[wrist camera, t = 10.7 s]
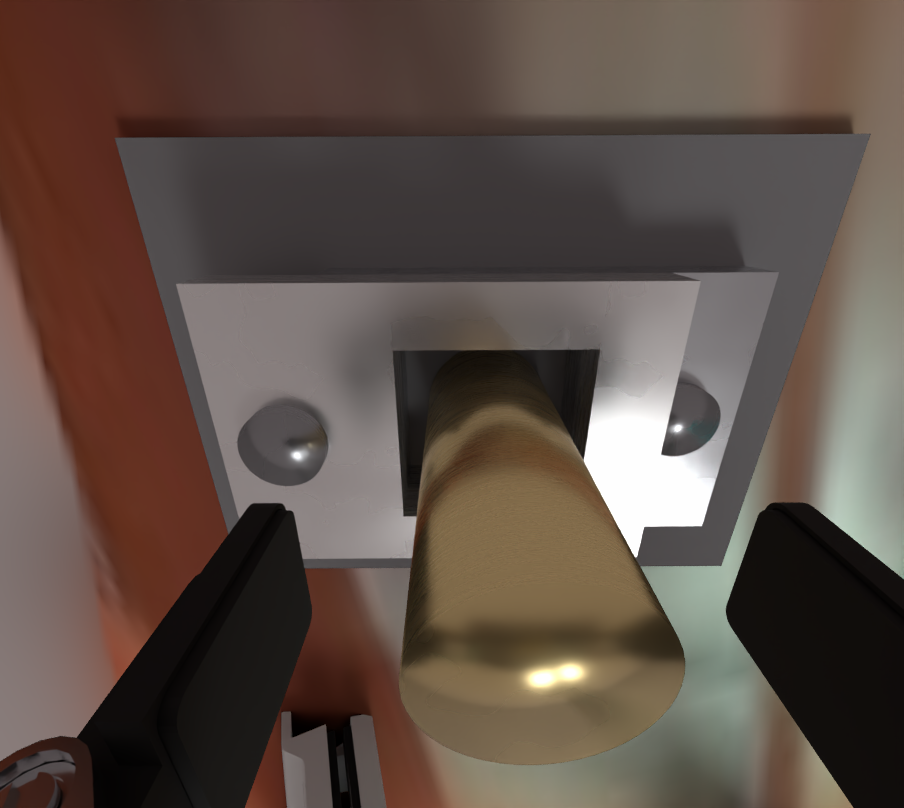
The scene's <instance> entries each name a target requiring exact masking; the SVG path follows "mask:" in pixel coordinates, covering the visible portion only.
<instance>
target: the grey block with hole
mask: <svg viewBox="0 0 904 808" xmlns="http://www.w3.org/2000/svg"><path fill="white" fill-rule="evenodd" d="M778 274H779V272H775V271H770V270H765V269H759V268H754V267H749V266H634V267H456V268H328V269H326V270H324V271H322V272H320V273H318V274H316V275H207V276H204V277H200V278H196V279H192V280H189V281H185V282H181V283H177V284H176V286H177V290H178V293H179V297H180V301H181V304H182V308H183V312H184V316H185V319H186V323H187V327H188V331H189V334H190V338H191V342H192V345H193V349H194V353H195V357H196V360H197V364H198V368H199V371H200V375H201V379H202V383H203V386H204V390H205V394H206V397H207V401H208V405H209V409H210V412H211V416H212V420H213V423H214V427H215V431H216V435H217V438H218V442H219V446H220V449H221V453H222V457H223V461H224V464H225V468H226V472H227V476H228V479H229V483H230V487H231V490H232V494H233V498H234V502H235V505H236V509H237V513H238V516H239V519H240V518H241V516H242V515H243V513H244V512H245V511H246V509H247V508H248V507H249V506H250V505H251V504H253V503H282V504H283V505H284V506H285V508H286V510H291V511H293V513H294V516H295V521H296V526H297V532H298V537H299V542H300V547H301V553H302V558H303V559H357V558H412V554H413V545H414V535H415V526H416V517H417V508H418V499H419V490H420V480H421V471H422V465H411V447H410V428H409V409H408V390H407V372H406V353H405V351H419V350H568V352H567V361H566V370H565V379H564V388H563V397H562V405H561V414H560V418H561V419H562V421H563V423H564V425H565V427H566V429H567V431H568V433H569V434H570V436H571V438H572V440H573V442H574V444H575V446H576V448H577V449H578V451H579V453H580V455H581V457H582V459H583V461H584V462H585V464H586V466H587V468H588V470H589V472H590V474H591V476H592V477H593V479H594V481H595V483H596V485H597V487H598V489H599V490H600V492H601V494H602V496H603V498H604V500H605V502H606V504H607V505H608V507H609V509H610V511H611V513H612V515H613V517H614V519H615V520H616V522H617V524H618V526H619V528H620V530H621V532H622V533H623V535H624V537H625V539H626V541H627V543H628V545H629V547H630V548H631V550H632V552H633V554H634V556H635V557H637V554H638V549H639V545H640V541H641V536H642V532H643V528H644V526H702V524H703V520H704V517H705V514H706V511H707V507H708V504H709V501H710V497H711V494H712V491H713V488H714V484H715V481H716V478H717V474H718V471H719V468H720V465H721V461H722V458H723V455H724V451H725V448H726V445H727V442H728V438H729V435H730V432H731V428H732V425H733V422H734V419H735V415H736V412H737V409H738V406H739V402H740V399H741V396H742V392H743V389H744V386H745V383H746V379H747V376H748V373H749V369H750V366H751V363H752V360H753V356H754V353H755V350H756V346H757V343H758V340H759V337H760V333H761V330H762V327H763V323H764V320H765V317H766V314H767V310H768V307H769V304H770V301H771V297H772V294H773V291H774V287H775V284H776V281H777V278H778Z"/></svg>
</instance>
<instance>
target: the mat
mask: <svg viewBox="0 0 904 808" xmlns="http://www.w3.org/2000/svg"><path fill="white" fill-rule="evenodd" d="M869 137H870V134H736V135H547V136H357V137H168V138H115V140H116V144H117V147H118V151H119V154H120V158H121V161H122V165H123V168H124V172H125V175H126V179H127V182H128V186H129V189H130V192H131V196H132V199H133V203H134V206H135V210H136V213H137V217H138V220H139V224H140V227H141V231H142V234H143V238H144V241H145V245H146V248H147V252H148V255H149V259H150V262H151V266H152V269H153V273H154V276H155V280H156V283H157V286H158V290H159V293H160V297H161V300H162V304H163V307H164V311H165V314H166V318H167V321H168V325H169V328H170V332H171V335H172V339H173V342H174V346H175V349H176V353H177V356H178V360H179V363H180V367H181V370H182V373H183V377H184V380H185V384H186V387H187V391H188V394H189V398H190V401H191V405H192V408H193V412H194V415H195V419H196V422H197V426H198V429H199V433H200V436H201V440H202V443H203V447H204V450H205V454H206V457H207V460H208V464H209V467H210V471H211V474H212V478H213V481H214V485H215V488H216V492H217V495H218V499H219V502H220V506H221V509H222V513H223V516H224V520H225V523H226V527H227V530H228V534H229V533H230V532H231V530H232V529H233V527H234V526H235V525H236V523H237V522H238V520H239V516H238V513H237V509H236V505H235V502H234V498H233V494H232V490H231V487H230V483H229V479H228V476H227V472H226V468H225V464H224V461H223V457H222V453H221V449H220V446H219V442H218V438H217V435H216V431H215V427H214V423H213V420H212V416H211V412H210V409H209V405H208V401H207V397H206V394H205V390H204V386H203V383H202V379H201V375H200V371H199V368H198V364H197V360H196V357H195V353H194V349H193V345H192V342H191V338H190V334H189V331H188V327H187V323H186V319H185V316H184V312H183V308H182V304H181V301H180V297H179V293H178V290H177V286H176V284H177V283H181V282H185V281H189V280H192V279H196V278H200V277H204V276H207V275H316V274H318V273H320V272H322V271H324V270H326V269H328V268H456V267H634V266H749V267H754V268H759V269H765V270H770V271H775V272H779V274H778V278H777V281H776V284H775V287H774V291H773V294H772V297H771V301H770V304H769V307H768V310H767V314H766V317H765V320H764V323H763V327H762V330H761V333H760V337H759V340H758V343H757V346H756V350H755V353H754V356H753V360H752V363H751V366H750V369H749V373H748V376H747V379H746V383H745V386H744V389H743V392H742V396H741V399H740V402H739V406H738V409H737V412H736V415H735V419H734V422H733V425H732V428H731V432H730V435H729V438H728V442H727V445H726V448H725V451H724V455H723V458H722V461H721V465H720V468H719V471H718V474H717V478H716V481H715V484H714V488H713V491H712V494H711V497H710V501H709V504H708V507H707V511H706V514H705V517H704V520H703V524H702V526H644V528H643V532H642V536H641V541H640V545H639V549H638V554H637V557H635V558H636V560H637V561H638V563H639V565H640V566H721V565H722V562H723V559H724V556H725V553H726V550H727V547H728V545H729V542H730V539H731V536H732V533H733V530H734V527H735V524H736V521H737V519H738V516H739V513H740V510H741V507H742V504H743V501H744V498H745V495H746V493H747V490H748V487H749V484H750V481H751V478H752V475H753V472H754V469H755V467H756V464H757V461H758V458H759V455H760V452H761V449H762V446H763V443H764V441H765V438H766V435H767V432H768V429H769V426H770V423H771V420H772V417H773V415H774V412H775V409H776V406H777V403H778V400H779V397H780V394H781V391H782V389H783V386H784V383H785V380H786V377H787V374H788V371H789V368H790V365H791V363H792V360H793V357H794V354H795V351H796V348H797V345H798V342H799V339H800V337H801V334H802V331H803V328H804V325H805V322H806V319H807V316H808V313H809V311H810V308H811V305H812V302H813V299H814V296H815V293H816V290H817V287H818V285H819V282H820V279H821V276H822V273H823V270H824V267H825V264H826V261H827V259H828V256H829V253H830V250H831V247H832V244H833V241H834V238H835V235H836V232H837V230H838V227H839V224H840V221H841V218H842V215H843V212H844V209H845V206H846V204H847V201H848V198H849V195H850V192H851V189H852V186H853V183H854V180H855V178H856V175H857V172H858V169H859V166H860V163H861V160H862V157H863V154H864V152H865V149H866V146H867V143H868V140H869ZM461 351H463V350H419V351H405V353H406V372H407V390H408V409H409V428H410V447H411V465H422V462H423V453H424V444H425V434H426V425H427V416H428V407H429V398H430V390H431V386H432V383H433V380H434V378H435V376H436V374H437V372H438V371H439V369H440V368H441V367H442V366H443V365H444V363H445V362H446V361H448V360H449V359H450V358H451V357H453V356H454V355H456V354H457V353H459V352H461ZM512 351H514V352H516V353H518V354H519V355H521V356H522V357H524V358H525V359H526V360H527V361H528V362H529V363H530V364H531V365H532V367H533V368H534V370H535V371H536V373H537V375H538V376H539V378H540V380H541V382H542V384H543V386H544V388H545V390H546V391H547V393H548V395H549V397H550V399H551V401H552V403H553V405H554V406H555V408H556V410H557V412H558V414H559V416H560V414H561V405H562V397H563V388H564V379H565V370H566V361H567V352H568V350H512ZM303 563H304V568H411V563H412V558H357V559H303Z"/></svg>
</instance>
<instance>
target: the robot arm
mask: <svg viewBox="0 0 904 808" xmlns="http://www.w3.org/2000/svg"><path fill="white" fill-rule="evenodd" d="M726 615H727V619H728V622H729V624H730V626H731V628H732V629H733V631H734V632H735V634H736V635H737V637H738V638H739V640H740V641H741V643H742V644H743V646H744V647H745V649H746V650H747V651H748V653H749V654H750V656H751V657H752V659H753V660H754V662H755V663H756V665H757V666H758V668H759V669H760V671H761V672H762V674H763V675H764V677H765V678H766V679H767V681H768V682H769V684H770V685H771V687H772V688H773V690H774V691H775V693H776V694H777V696H778V697H779V699H780V700H781V702H782V703H783V704H784V706H785V707H786V709H787V710H788V712H789V713H790V715H791V716H792V718H793V719H794V721H795V722H796V724H797V725H798V727H799V728H800V730H801V731H802V732H803V734H804V735H805V737H806V738H807V740H808V741H809V743H810V744H811V746H812V747H813V749H814V750H815V752H816V753H817V755H818V756H819V758H820V759H821V760H822V762H823V763H824V765H825V766H826V768H827V769H828V771H829V772H830V774H831V775H832V777H833V778H834V780H835V781H836V783H837V784H838V786H839V787H840V788H841V790H842V791H843V793H844V794H845V796H846V797H847V799H848V800H849V802H850V803H851V805H852V806H853V808H904V579H903V578H901V577H900V576H899V575H898V574H896V573H895V572H894V571H893V570H891V569H890V568H889V567H888V566H886V565H885V564H884V563H883V562H881V561H880V560H879V559H878V558H876V557H875V556H874V555H873V554H871V553H870V552H869V551H868V550H866V549H865V548H864V547H863V546H861V545H860V544H859V543H858V542H856V541H855V540H854V539H853V538H851V537H850V536H849V535H848V534H846V533H845V532H844V531H843V530H841V529H840V528H839V527H838V526H836V525H835V524H834V523H833V522H831V521H830V520H829V519H828V518H826V517H825V516H824V515H823V514H821V513H820V512H819V511H818V510H816V509H815V508H814V507H812V506H811V505H809V504H806V503H771V504H770V505H768V506H767V507H766V509H765V510H764V511H762V512H760V513H759V515H758V518H757V520H756V523H755V526H754V529H753V532H752V535H751V537H750V540H749V543H748V546H747V549H746V552H745V555H744V557H743V560H742V563H741V566H740V569H739V572H738V575H737V577H736V580H735V583H734V586H733V589H732V592H731V594H730V597H729V600H728V603H727V606H726ZM311 616H312V605H311V600H310V595H309V590H308V584H307V579H306V574H305V568H304V563H303V558H302V553H301V547H300V542H299V537H298V532H297V526H296V521H295V516H294V513H293V511H291V510H286V508H285V506H284V505H283V504H282V503H253V504H251V505H250V506H249V507H248V508H247V509H246V511H245V512H244V513H243V515H242V516H241V518H240V519H239V520H238V522H237V523H236V525H235V526H234V527H233V529H232V530H231V532H230V533H229V534H228V536H227V537H226V538H225V540H224V541H223V543H222V544H221V545H220V547H219V548H218V550H217V551H216V552H215V554H214V555H213V557H212V558H211V559H210V561H209V562H208V564H207V565H206V566H205V568H204V569H203V570H202V572H201V573H200V574H199V575H197V576H195V578H194V579H193V580H192V581H191V582H190V583H189V584H188V586H187V587H186V588H185V590H184V591H183V593H182V594H181V595H180V597H179V598H178V599H177V601H176V602H175V604H174V605H173V606H172V608H171V609H170V610H169V612H168V613H167V615H166V616H165V617H164V619H163V620H162V621H161V623H160V624H159V625H158V627H157V628H156V630H155V631H154V632H153V634H152V635H151V636H150V638H149V639H148V641H147V642H146V643H145V645H144V646H143V647H142V649H141V650H140V652H139V653H138V654H137V656H136V657H135V658H134V660H133V661H132V662H131V664H130V665H129V667H128V668H127V669H126V671H125V672H124V673H123V675H122V676H121V678H120V679H119V680H118V682H117V683H116V684H115V686H114V687H113V689H112V690H111V691H110V693H109V694H108V696H107V697H106V698H105V700H104V701H103V702H102V704H101V705H100V707H99V708H98V709H97V710H96V712H95V713H94V715H93V716H92V717H91V719H90V720H89V721H88V723H87V724H86V726H85V727H84V728H83V730H82V731H81V732H80V734H79V735H78V737H77V738H75V737H65V736H59V737H54V738H49V739H45V740H40V741H38V742H36V743H34V744H31V745H29V746H27V747H25V748H22V749H20V750H18V751H16V752H14V753H13V754H11V755H9V756H8V757H6V758H5V759H3V760H2V761H0V808H245V805H246V802H247V800H248V797H249V794H250V791H251V788H252V786H253V783H254V780H255V777H256V774H257V772H258V769H259V766H260V763H261V760H262V758H263V755H264V752H265V749H266V746H267V744H268V741H269V738H270V735H271V732H272V730H273V727H274V724H275V721H276V718H277V716H278V713H279V710H280V707H281V704H282V702H283V699H284V696H285V693H286V690H287V688H288V685H289V682H290V679H291V676H292V674H293V671H294V668H295V665H296V662H297V660H298V657H299V654H300V651H301V648H302V646H303V643H304V640H305V637H306V634H307V632H308V629H309V626H310V622H311Z"/></svg>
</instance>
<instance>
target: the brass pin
mask: <svg viewBox="0 0 904 808" xmlns="http://www.w3.org/2000/svg"><path fill="white" fill-rule="evenodd" d="M684 674H685V658H684V652H683V648H682V646H681V643H680V641H679V638H678V636H677V634H676V632H675V631H674V629H673V627H672V625H671V623H670V621H669V619H668V618H667V616H666V614H665V612H664V610H663V608H662V606H661V604H660V603H659V601H658V599H657V597H656V595H655V593H654V591H653V590H652V588H651V586H650V584H649V582H648V580H647V578H646V576H645V575H644V573H643V571H642V569H641V567H640V565H639V563H638V561H637V560H636V558H635V556H634V554H633V552H632V550H631V548H630V547H629V545H628V543H627V541H626V539H625V537H624V535H623V533H622V532H621V530H620V528H619V526H618V524H617V522H616V520H615V519H614V517H613V515H612V513H611V511H610V509H609V507H608V505H607V504H606V502H605V500H604V498H603V496H602V494H601V492H600V490H599V489H598V487H597V485H596V483H595V481H594V479H593V477H592V476H591V474H590V472H589V470H588V468H587V466H586V464H585V462H584V461H583V459H582V457H581V455H580V453H579V451H578V449H577V448H576V446H575V444H574V442H573V440H572V438H571V436H570V434H569V433H568V431H567V429H566V427H565V425H564V423H563V421H562V419H561V418H560V416H559V414H558V412H557V410H556V408H555V406H554V405H553V403H552V401H551V399H550V397H549V395H548V393H547V391H546V390H545V388H544V386H543V384H542V382H541V380H540V378H539V376H538V375H537V373H536V371H535V370H534V368H533V367H532V365H531V364H530V363H529V362H528V361H527V360H526V359H525V358H524V357H522V356H521V355H519V354H518V353H516V352H514V351H512V350H463V351H461V352H459V353H457V354H456V355H454V356H453V357H451V358H450V359H449V360H448V361H446V362H445V363H444V365H443V366H442V367H441V368H440V369H439V371H438V372H437V374H436V376H435V378H434V380H433V383H432V386H431V390H430V398H429V407H428V416H427V425H426V434H425V444H424V453H423V462H422V471H421V480H420V490H419V499H418V508H417V517H416V526H415V535H414V545H413V554H412V563H411V572H410V581H409V590H408V600H407V609H406V618H405V627H404V636H403V646H402V655H401V664H400V673H399V690H400V695H401V700H402V702H403V705H404V707H405V709H406V711H407V713H408V714H409V716H410V717H411V719H412V720H413V721H414V723H415V724H416V725H417V726H418V727H419V728H420V729H421V730H422V731H423V732H424V733H426V734H427V735H428V736H429V737H430V738H432V739H434V740H435V741H437V742H438V743H440V744H441V745H443V746H445V747H447V748H449V749H452V750H454V751H456V752H459V753H461V754H464V755H467V756H470V757H473V758H477V759H481V760H485V761H491V762H496V763H504V764H514V765H542V764H553V763H562V762H568V761H573V760H578V759H582V758H586V757H589V756H593V755H596V754H599V753H602V752H605V751H608V750H610V749H613V748H615V747H617V746H619V745H621V744H624V743H626V742H627V741H629V740H631V739H633V738H634V737H636V736H638V735H639V734H641V733H642V732H644V731H645V730H647V729H648V728H649V727H651V726H652V725H653V724H654V723H655V722H656V721H657V720H659V719H660V718H661V717H662V715H663V714H664V713H665V712H666V711H667V710H668V709H669V708H670V706H671V705H672V703H673V702H674V700H675V699H676V697H677V695H678V693H679V690H680V688H681V686H682V683H683V678H684Z"/></svg>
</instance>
